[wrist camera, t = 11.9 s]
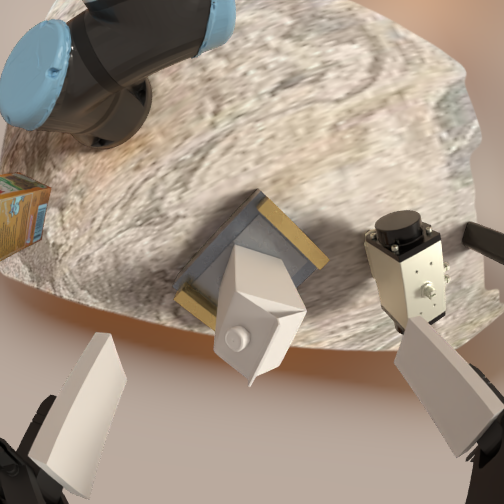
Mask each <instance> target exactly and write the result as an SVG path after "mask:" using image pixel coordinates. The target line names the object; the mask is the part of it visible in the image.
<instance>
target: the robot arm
mask: <svg viewBox="0 0 504 504" xmlns="http://www.w3.org/2000/svg"><path fill="white" fill-rule="evenodd" d="M82 1H83V2H84V4H85V5H86V7H87V8H88V9H86V10H85V11H83V12H82V13H80V14H79V15H77V16H75V17H74V18H72V19H71V20H70V21H68V22H67V23H65V22H64V21H62V20H55V19H51V20H49V21H47V20H46V21H43V22H40V23H39V24H37V25H35V26H34V27H33V28H31V29H30V30H29V31H28V32H27V33H26V34H25V35H24V36H23V37H22V38H21V39H20V40H19V42H18V43H17V44H16V46H15V47H14V49H13V50H12V52H11V54H10V55H9V57H8V59H7V61H6V64H5V66H4V69H3V72H2V74H1V78H0V113H1V115H2V117H3V119H4V120H5V121H6V122H7V123H8V124H10V125H12V126H15V127H21V128H24V129H26V130H28V131H32V130H42V131H53V132H63V133H70V134H71V135H72V136H73V137H74V138H75V139H76V140H77V141H79V142H80V143H81V144H83V145H85V146H88V147H91V148H99V149H106V148H112V147H115V146H118V145H120V144H122V143H124V142H126V141H127V140H128V139H130V138H131V137H132V136H133V135H134V134H135V133H136V132H137V131H138V130H139V129H140V128H141V126H142V125H143V123H144V122H145V120H146V118H147V116H148V113H149V111H150V107H151V103H152V88H151V84H150V82H149V79H148V78H147V76H149V75H151V74H153V73H156V72H158V71H160V70H162V69H164V68H166V67H169V66H171V65H173V64H176V63H178V62H180V61H183V60H185V59H188V58H196V57H198V56H199V55H201V54H202V53H204V52H206V51H209V50H211V49H214V48H217V47H219V46H222V45H223V44H225V43H226V42H227V41H228V39H230V37H231V36H232V34H233V31H234V27H235V20H236V6H235V0H82ZM394 364H395V365H396V366H397V368H398V369H399V371H400V372H401V374H402V375H403V376H404V378H405V379H406V381H407V382H408V384H409V385H410V387H411V388H412V389H413V391H414V392H415V394H416V395H417V397H418V398H419V400H420V401H421V403H422V404H423V406H424V407H425V409H426V410H427V412H428V414H429V415H430V417H431V418H432V420H433V421H434V423H435V424H436V426H437V428H438V429H439V431H440V432H441V434H442V436H443V437H444V438H445V440H446V442H447V444H448V445H449V447H450V449H451V450H452V452H453V453H454V455H455V457H456V458H457V457H459V456H461V455H462V454H464V453H465V452H467V451H468V450H469V449H470V448H471V447H472V446H473V445H474V444H475V443H476V442H477V443H478V446H477V447H476V448H475V449H474V450H473V451H472V452H471V453H470V454H469V455H468V457H467V458H466V461H468V460H469V459H471V458H472V457H473V456H474V455H475V456H474V457H473V458H472V459H471V461H470V462H474V463H473V469H472V475H471V481H470V486H469V490H468V495H467V499H466V503H465V504H504V397H503V396H502V395H501V394H500V392H499V391H498V390H497V389H496V388H495V386H494V385H493V384H492V383H490V381H489V380H488V379H487V378H485V375H484V374H483V373H482V372H481V371H480V370H479V369H478V368H476V367H475V366H473V365H471V364H468V363H467V362H466V361H465V360H464V359H463V358H462V357H461V356H460V355H459V354H458V353H457V352H456V350H455V349H454V348H453V347H452V346H451V345H450V344H449V343H448V342H447V341H446V340H445V339H444V338H443V337H442V336H441V335H440V334H439V333H438V332H437V331H436V330H435V329H434V328H433V327H432V326H431V325H430V324H429V323H428V322H427V321H426V320H425V319H424V318H423V317H422V316H416V317H411V318H409V319H408V322H407V326H406V329H405V332H404V335H403V338H402V341H401V344H400V347H399V350H398V352H397V355H396V358H395V360H394ZM126 381H127V378H126V376H125V373H124V370H123V368H122V365H121V362H120V360H119V357H118V354H117V351H116V348H115V345H114V342H113V339H112V336H111V334H108V333H98V332H96V333H95V334H94V336H93V337H92V339H91V341H90V342H89V344H88V345H87V347H86V348H85V350H84V352H83V353H82V355H81V356H80V358H79V360H78V361H77V363H76V365H75V366H74V368H73V370H72V371H71V373H70V375H69V376H68V378H67V380H66V381H65V383H64V385H63V387H62V389H61V390H60V392H59V394H58V396H54V395H50V396H49V397H47V398H46V399H45V400H44V401H43V402H42V403H41V405H40V407H39V408H38V410H37V414H35V416H34V418H33V419H32V422H31V423H30V425H29V427H28V429H27V431H26V433H25V435H24V437H23V439H22V441H21V443H20V445H19V448H18V449H17V451H15V450H14V449H12V448H11V446H10V445H9V444H8V443H7V442H6V441H5V440H4V439H2V438H0V504H69V503H68V501H67V499H66V497H65V495H64V494H63V493H62V489H63V487H64V488H65V489H66V490H68V491H69V492H70V493H72V494H75V495H77V496H80V497H83V498H86V499H89V498H90V494H91V490H92V486H93V483H94V479H95V475H96V472H97V468H98V465H99V461H100V458H101V455H102V451H103V448H104V445H105V442H106V438H107V435H108V432H109V429H110V426H111V423H112V420H113V417H114V414H115V412H116V409H117V406H118V403H119V400H120V398H121V394H122V392H123V389H124V387H125V384H126Z"/></svg>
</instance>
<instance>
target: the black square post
mask: <svg viewBox="0 0 504 504" xmlns="http://www.w3.org/2000/svg"><path fill="white" fill-rule="evenodd" d="M462 243H463V245H464V246H466V247H468V248H470V249H472V250H474V251H476V252H478V253H481V254H483V255H485V256H487V257H489V258H491V259H493V260H495V261H497V262H499V263H501V264H503V265H504V234H503V233H501V232H498V231H496V230H493V229H491V228H488V227H485V226H482V225H480V224H477V223H474V222H469V223H468V224H467V227H466V230H465V234H464V237H463V241H462Z"/></svg>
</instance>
